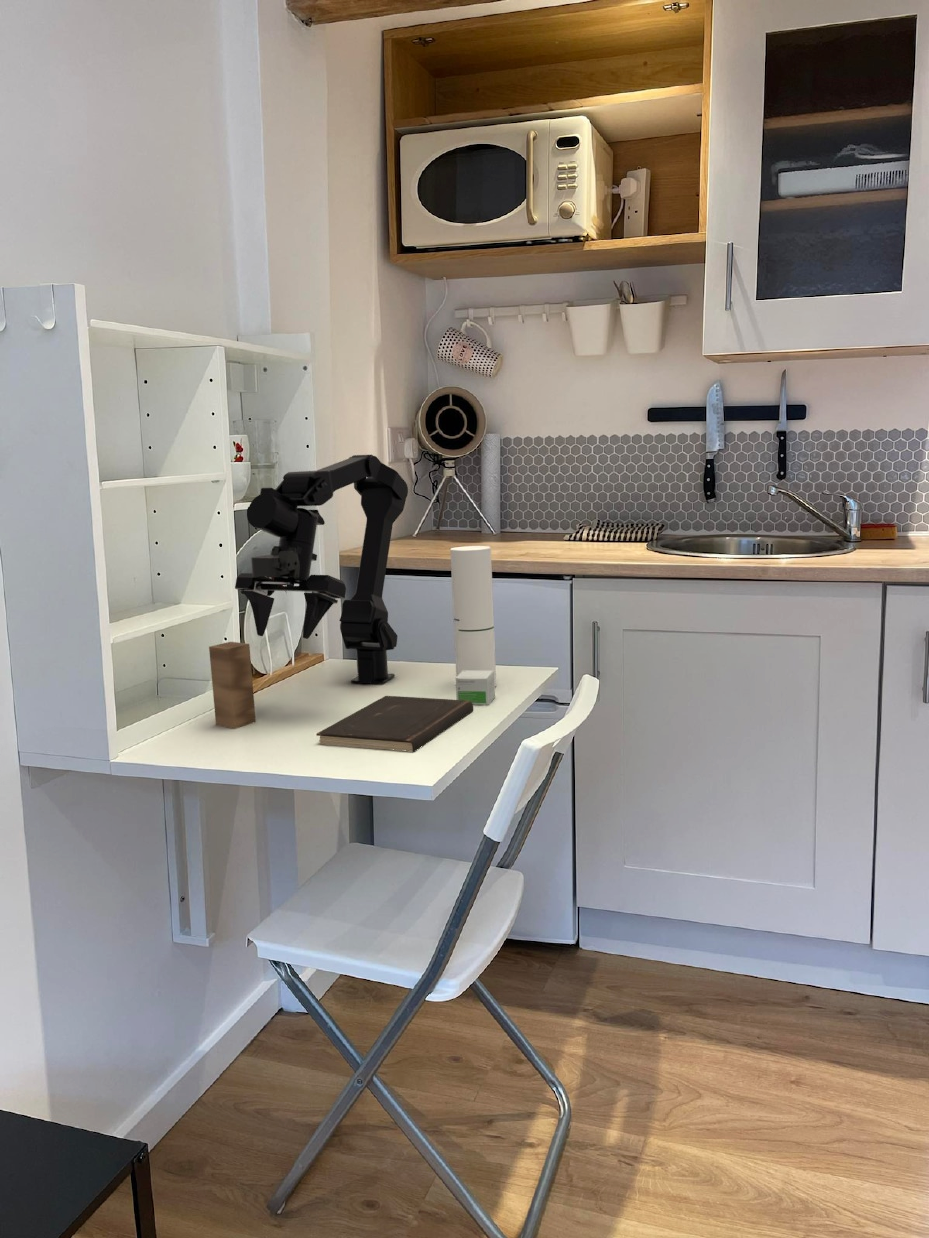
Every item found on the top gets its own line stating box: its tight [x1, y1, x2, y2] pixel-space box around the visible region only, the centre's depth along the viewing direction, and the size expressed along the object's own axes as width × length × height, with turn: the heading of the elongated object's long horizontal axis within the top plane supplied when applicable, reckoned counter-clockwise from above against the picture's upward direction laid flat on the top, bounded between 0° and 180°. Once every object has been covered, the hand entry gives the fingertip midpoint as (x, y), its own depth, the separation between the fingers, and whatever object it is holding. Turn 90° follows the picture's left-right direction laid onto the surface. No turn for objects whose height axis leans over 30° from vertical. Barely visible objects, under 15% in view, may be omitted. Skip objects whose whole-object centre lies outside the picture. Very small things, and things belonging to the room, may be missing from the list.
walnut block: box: [208, 641, 257, 730], centre depth 166 cm, size 4×4×13 cm
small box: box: [455, 670, 496, 706], centre depth 174 cm, size 6×6×5 cm
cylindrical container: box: [449, 545, 497, 687], centre depth 183 cm, size 7×7×25 cm
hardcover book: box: [316, 695, 474, 753], centre depth 161 cm, size 16×23×2 cm
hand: (282, 637), depth 168 cm, fingers open, 9 cm apart
